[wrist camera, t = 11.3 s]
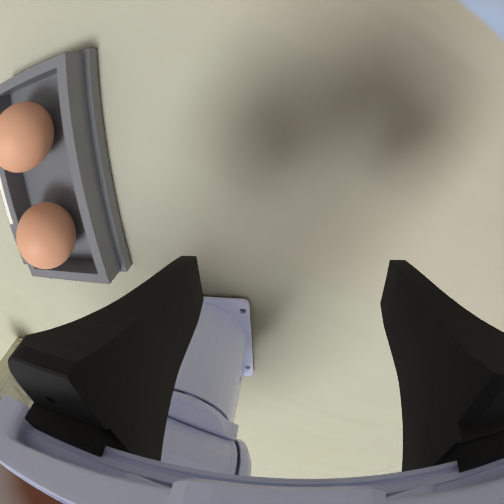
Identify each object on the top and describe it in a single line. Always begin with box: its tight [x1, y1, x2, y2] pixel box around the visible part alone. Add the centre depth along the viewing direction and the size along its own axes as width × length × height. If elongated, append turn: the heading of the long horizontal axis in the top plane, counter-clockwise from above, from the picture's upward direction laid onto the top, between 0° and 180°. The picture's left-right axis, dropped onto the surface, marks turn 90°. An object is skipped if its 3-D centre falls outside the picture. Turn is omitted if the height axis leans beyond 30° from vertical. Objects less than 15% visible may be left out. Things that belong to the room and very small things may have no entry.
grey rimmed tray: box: [0, 48, 132, 284], centre depth 19 cm, size 17×13×3 cm
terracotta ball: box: [0, 101, 54, 173], centre depth 15 cm, size 5×5×5 cm
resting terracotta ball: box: [16, 202, 76, 269], centre depth 19 cm, size 5×5×5 cm
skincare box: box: [0, 338, 34, 408], centre depth 30 cm, size 6×4×12 cm
